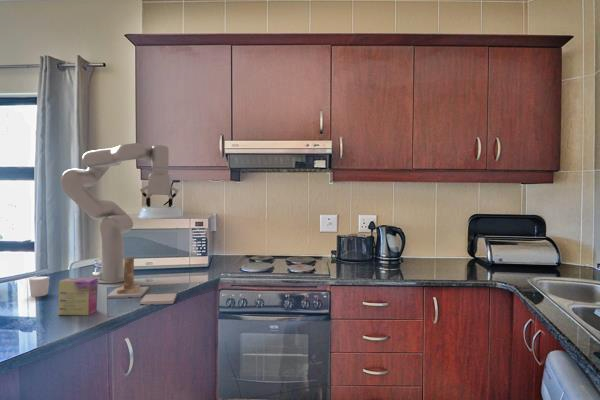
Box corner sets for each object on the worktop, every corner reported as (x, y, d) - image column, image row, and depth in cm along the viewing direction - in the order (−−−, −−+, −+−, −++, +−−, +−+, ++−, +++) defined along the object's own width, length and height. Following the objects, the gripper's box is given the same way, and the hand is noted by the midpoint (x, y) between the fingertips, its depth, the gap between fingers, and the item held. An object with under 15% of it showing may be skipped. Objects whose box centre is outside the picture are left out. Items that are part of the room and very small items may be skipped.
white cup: (46, 291, 150) (46, 275, 150) (51, 294, 146) (52, 277, 146) (26, 294, 145) (26, 277, 145) (31, 298, 141) (31, 280, 140)
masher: (117, 293, 146) (117, 259, 146) (122, 289, 153) (122, 256, 152) (135, 292, 147) (135, 259, 147) (139, 288, 154) (140, 256, 154)
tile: (140, 301, 134) (173, 300, 137) (145, 294, 144) (176, 293, 147) (140, 306, 134) (173, 304, 137) (145, 298, 144) (176, 297, 147)
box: (97, 310, 127) (98, 277, 127) (88, 315, 122) (89, 281, 122) (68, 310, 127) (68, 277, 127) (57, 315, 121) (58, 281, 121)
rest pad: (106, 298, 142) (106, 295, 142) (117, 289, 155) (117, 287, 155) (140, 297, 145) (141, 294, 145) (148, 288, 157) (148, 286, 157)
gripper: (138, 170, 164) (138, 206, 164) (177, 171, 167) (176, 207, 167) (142, 171, 172) (142, 206, 172) (180, 172, 175) (179, 206, 175)
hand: (159, 206), depth 170 cm, fingers open, 9 cm apart
